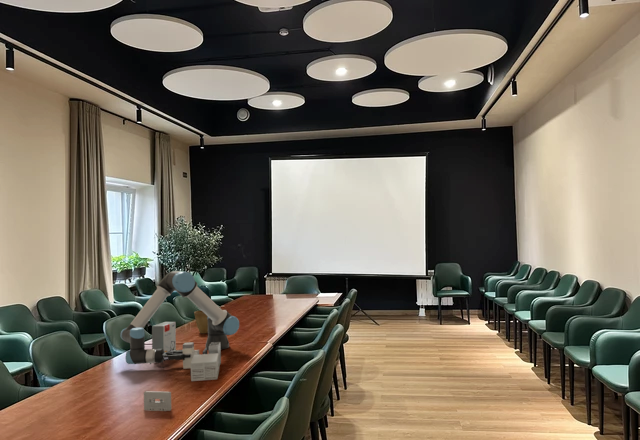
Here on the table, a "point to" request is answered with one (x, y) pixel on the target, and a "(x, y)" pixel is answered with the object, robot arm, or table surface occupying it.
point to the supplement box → (205, 367)
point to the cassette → (157, 405)
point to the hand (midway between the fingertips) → (197, 353)
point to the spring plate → (205, 351)
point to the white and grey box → (188, 349)
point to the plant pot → (201, 321)
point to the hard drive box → (164, 336)
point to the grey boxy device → (215, 349)
